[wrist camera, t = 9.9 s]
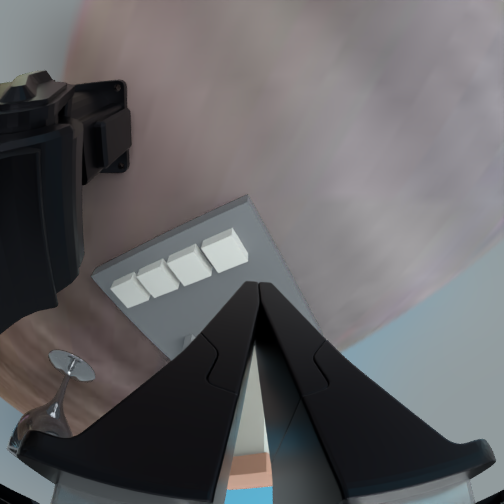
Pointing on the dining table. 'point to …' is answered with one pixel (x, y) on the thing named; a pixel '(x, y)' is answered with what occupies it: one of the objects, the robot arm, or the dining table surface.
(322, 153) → the dining table surface
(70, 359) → the wine glass
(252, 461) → the key
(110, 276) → the keyboard deck
